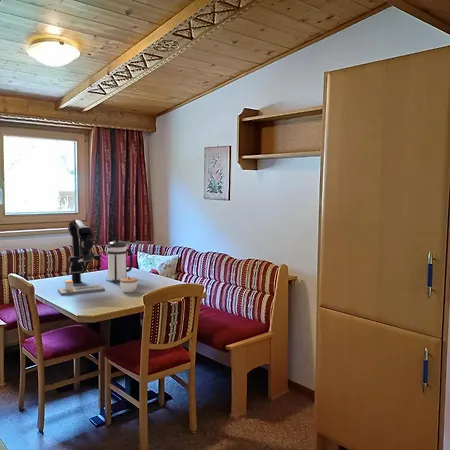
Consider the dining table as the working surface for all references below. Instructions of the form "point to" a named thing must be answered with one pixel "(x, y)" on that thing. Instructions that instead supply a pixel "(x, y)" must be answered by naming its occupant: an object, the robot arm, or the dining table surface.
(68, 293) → the console board
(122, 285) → the lidded jar
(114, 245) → the coffee press
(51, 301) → the dining table surface
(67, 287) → the block
